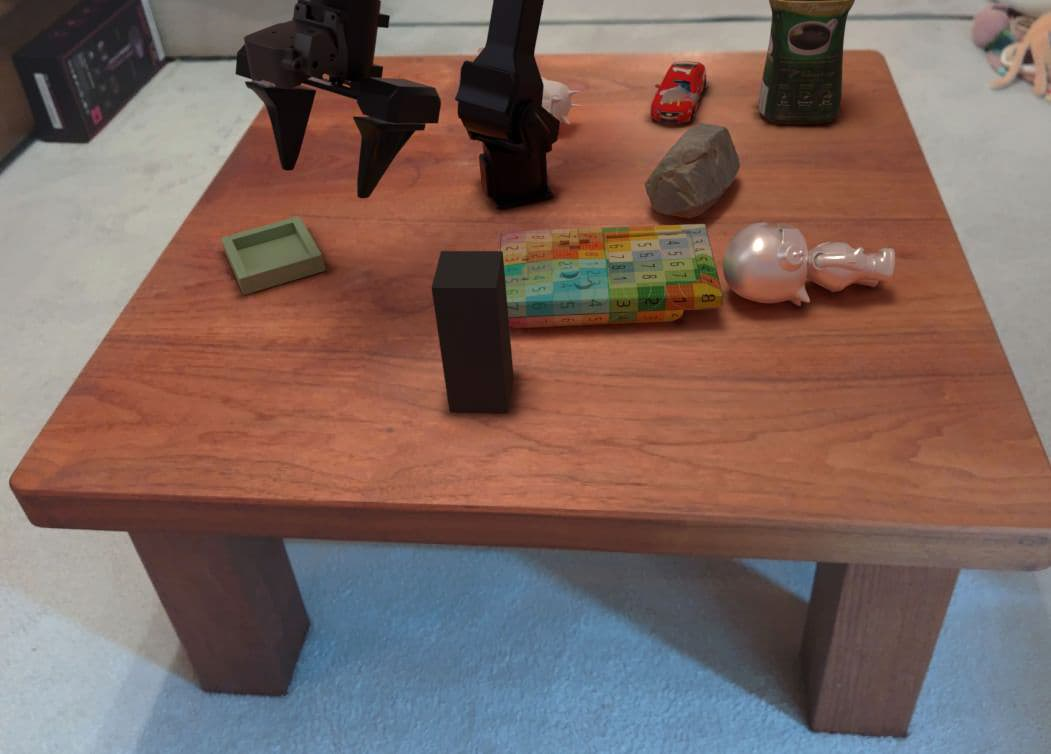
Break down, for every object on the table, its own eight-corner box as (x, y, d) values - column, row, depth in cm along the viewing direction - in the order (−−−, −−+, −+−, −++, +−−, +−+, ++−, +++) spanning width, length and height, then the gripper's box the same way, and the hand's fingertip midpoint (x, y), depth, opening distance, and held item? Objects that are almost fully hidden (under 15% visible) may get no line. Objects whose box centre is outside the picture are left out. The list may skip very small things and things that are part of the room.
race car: (689, 131, 120) (691, 100, 118) (645, 126, 122) (645, 95, 119) (711, 83, 129) (713, 53, 127) (670, 79, 131) (671, 49, 128)
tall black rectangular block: (457, 373, 89) (440, 250, 80) (513, 374, 88) (502, 250, 80) (449, 412, 85) (431, 287, 77) (507, 413, 85) (496, 287, 76)
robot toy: (434, 111, 119) (542, 137, 113) (449, 35, 116) (559, 57, 111) (494, 123, 132) (593, 147, 126) (509, 55, 130) (610, 76, 124)
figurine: (911, 223, 88) (746, 204, 87) (906, 306, 88) (740, 289, 86) (859, 246, 99) (711, 230, 97) (855, 321, 98) (705, 306, 97)
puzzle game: (499, 225, 98) (705, 215, 97) (503, 265, 101) (703, 256, 100) (496, 297, 89) (723, 287, 88) (500, 338, 92) (720, 329, 91)
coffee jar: (835, 98, 124) (859, -58, 112) (841, 128, 118) (867, -33, 106) (755, 97, 126) (771, -57, 114) (757, 126, 120) (773, -32, 108)
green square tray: (303, 231, 108) (299, 215, 107) (325, 270, 102) (322, 254, 101) (225, 253, 106) (220, 237, 104) (243, 295, 100) (238, 279, 98)
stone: (678, 165, 114) (681, 101, 109) (746, 178, 111) (753, 113, 106) (634, 219, 106) (635, 152, 101) (707, 235, 103) (711, 167, 98)
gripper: (188, -37, 79) (177, 159, 85) (360, 5, 70) (334, 221, 76) (294, -21, 88) (277, 155, 94) (458, 18, 79) (428, 210, 85)
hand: (324, 183), depth 87 cm, fingers open, 9 cm apart
